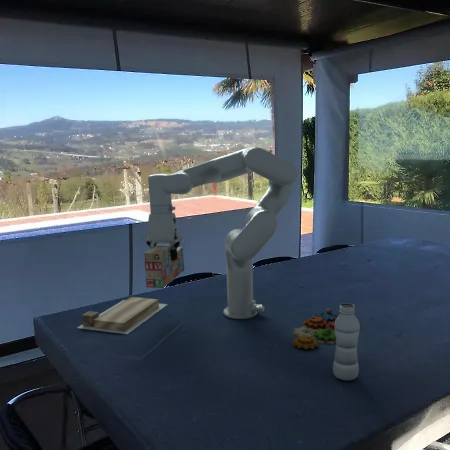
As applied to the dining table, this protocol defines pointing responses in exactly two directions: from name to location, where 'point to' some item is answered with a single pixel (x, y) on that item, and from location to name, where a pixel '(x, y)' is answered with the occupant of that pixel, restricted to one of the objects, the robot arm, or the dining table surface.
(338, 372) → the plastic bottle
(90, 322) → the walnut cube
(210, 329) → the dining table surface
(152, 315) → the cream tile
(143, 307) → the oak plinth
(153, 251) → the stack of blocks
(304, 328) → the gear puzzle
